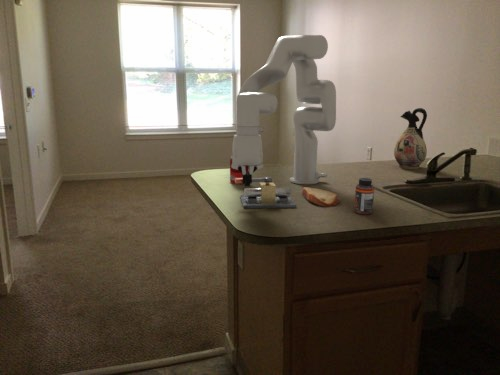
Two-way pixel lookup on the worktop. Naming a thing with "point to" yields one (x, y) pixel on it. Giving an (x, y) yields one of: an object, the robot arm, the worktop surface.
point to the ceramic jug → (411, 142)
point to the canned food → (236, 173)
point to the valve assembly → (267, 197)
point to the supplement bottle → (364, 196)
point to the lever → (255, 179)
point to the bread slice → (320, 197)
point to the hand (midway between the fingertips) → (247, 185)
